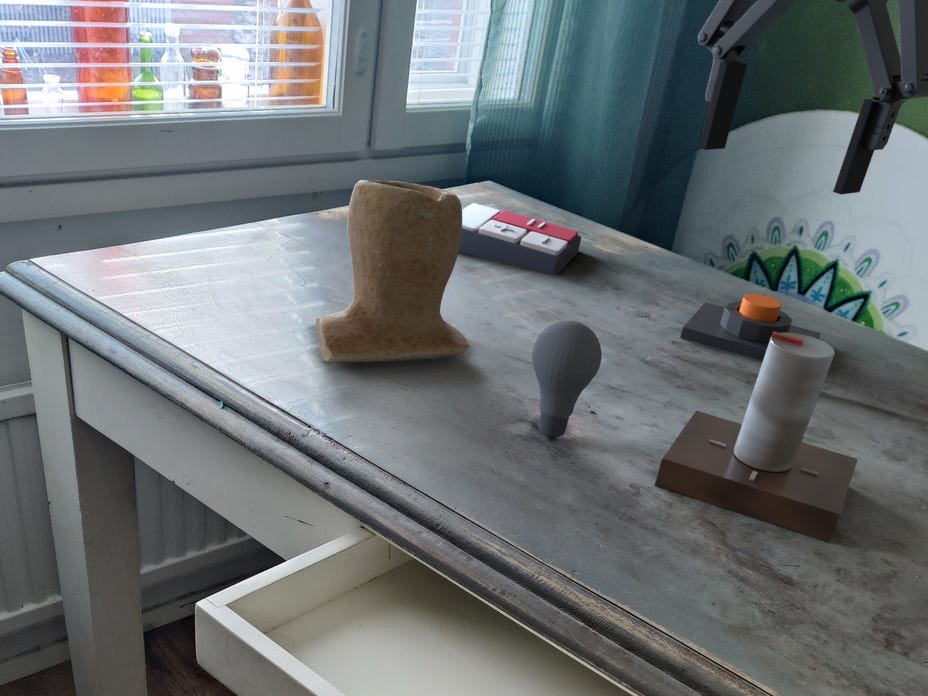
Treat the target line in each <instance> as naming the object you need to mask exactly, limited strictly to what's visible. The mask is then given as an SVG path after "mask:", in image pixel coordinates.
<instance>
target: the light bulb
mask: <svg viewBox="0 0 928 696" xmlns="http://www.w3.org/2000/svg"><path fill="white" fill-rule="evenodd" d="M531 354H532V355H531V356H532V357H531V359H532V367H533V371H534V373H535V375H536V379H537V383H538V386H539V404H538V407H539V411H540V413H539V419H538V420H539V421H538V430H539V432H540V433H541V434H542V435H543V436H545V438H547V439H549V440H554V439H555V440H556V438H559V437H563V435H564V434H565V433H566V430H567V427H568V424H569V419H570V417H571V416H572V415H573V413H574V409H575V405H576V403H577V401H578V399H579V397H580V395H581V394H582V392H583V391H584V390H585V389H586V388H587V387H588V386H589V384H590V383H591V382H592V381H593V379H594V378H595V377H596V375H597V374H598V372H599V369H600V367H601V362H602V358H603V357H602V355H603V353H602V348H601V343H600V340H599V338H598V337H597V334H596V333H595V332H594V331H593V329H591V328H590V327H589V326H588V325H586V324H584V323H583V322H580V321H577V320H571V319H565V320H559V321H556V322H554V323H551V324H550V325H548V326H547V327H546V328H545V329H543V330H542V331H541V332H540V333H539V335H538V337H537V338H536V340H535V342H534V345H533V346H532V353H531Z"/></svg>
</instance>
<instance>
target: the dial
mask: <svg viewBox="0 0 928 696" xmlns="http://www.w3.org/2000/svg"><path fill="white" fill-rule="evenodd" d="M835 354H836V352H835V349H834V348H833V346H831V345H830V344H828V343H827V342H825V341H823V340H821V339H820V338H819V339H816V338H813V337H810V336H807V335H802V334H797V333H778V332H773V334H772V337H771V338H770V341H769V344H768V347H767V350H766V353H765V356H764V359H763V361H761V362H762V363H761V366H760V369H759V372H758V375H757V378H756V381H755V384H754V387H753V389H752V393H751V396H750V399H749V401H748V404H747V407H746V411H745V414H744V416H743V420H742V423H741V424H742V426H741V429H740V432H739V435H738V438H737V441H736V444H735V447H734V454H735V456H736V457H737V458H738V459H739V460H740V461H742V462H743V463H745V464H747V465H749V466H751V467H753V468H756V469H760V470H764V471H770V472H782V471H786V470H789V469H790V468H791V467H792V466H793V463H794V461H795V458H796V455H797V453H798V450H799V447H800V445H801V442H803V439H804V436H805V434H806V432H807V428H808V426H809V423H810V421H811V418H812V416H813V413H814V410H815V408H816V404H817V402H818V400H819V397H820V394H821V392H822V388H823V386H824V384H825V380H826V379H827V375H828V373H829V370H830V368H831V365H832V362H833V361H834V360H833V359H834V356H835Z"/></svg>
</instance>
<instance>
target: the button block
mask: <svg viewBox="0 0 928 696" xmlns="http://www.w3.org/2000/svg"><path fill="white" fill-rule="evenodd" d="M741 303H742V300H739V301H732V302H728V303H727V304H726V305H725V306H721V305H718V304H715V303H710V302H707V301H705V302H704V303H703V304H702V305H701V306H700V308H699V309H697V311H696V312H695V313H694V314H693V315H692V316H691V318H690V319H688V321H687V322H686V323H685V324H684V325H683V326H682V329H681V333H680V335H679V339H682V340H685V341H688V342H689V341H690V342H693V343H697V344H700V345H702V346H703V345H704V346H706V347H707V346H708V347H711V348H714V349H718V350H721V351H725V352H729V353H732V354H735V355H740V356H743V357H747V358H750V359H754V360H757V361H761V362H763V359H764V356H765V353H766V350H767V347H768V344H769V341H770V338H771V337H772V334H773V332H778V333H797V334H802V335H807V336H810V337H813V338H816V339H819V340H820V338H821V335H822V333H821V332H819V331H814V330H811V329H807V328H804V327H800V326H796V325H792V323H793V319H792V318H791V317H790V316H789V315H788V314H787V312H785V311H783V310H780V312H779V315H778V318H777V321H776V322H765V321H758V320H754V319H750V318H748V317H746V316H743V315H741V314H740V313H739V310H740V306H741Z"/></svg>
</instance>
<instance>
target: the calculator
mask: <svg viewBox="0 0 928 696" xmlns="http://www.w3.org/2000/svg"><path fill="white" fill-rule="evenodd" d="M581 242H582V236H581V235H579V231H578V230H575V229H571V228H568V227H566V226H565V227H564V226H561V225H558V224H554V223H552V222H547V221H544V220H540V219H538V218H533V217H530V216H527V215H523V214H520V213H516V212H513V211H510V210H509V211H508V210H502V211H500V210H499V209H497V208H493V207H489V206H485V205H482V204H478V203H471V204H469V205H467V206H466V207H465V208H462V231H461V241H460V248H459V252H458V253H462V254H467V255H471V256H475V257H480V258H483V259H488V260H492V261H496V262H501V263H504V264H510V265H514V266H518V267H522V268H526V269H530V270H533V271H534V270H536V271H538V272H543V273H547V274H551V275H558V274H559V273H560V272H561V271H562V270H563V269H564V267H566V266H567V265H568V264H569V263H570V262H571V260H572V259H574V257H575V256H576V255H577V254H578V253H579V250H580V246H581Z"/></svg>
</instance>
